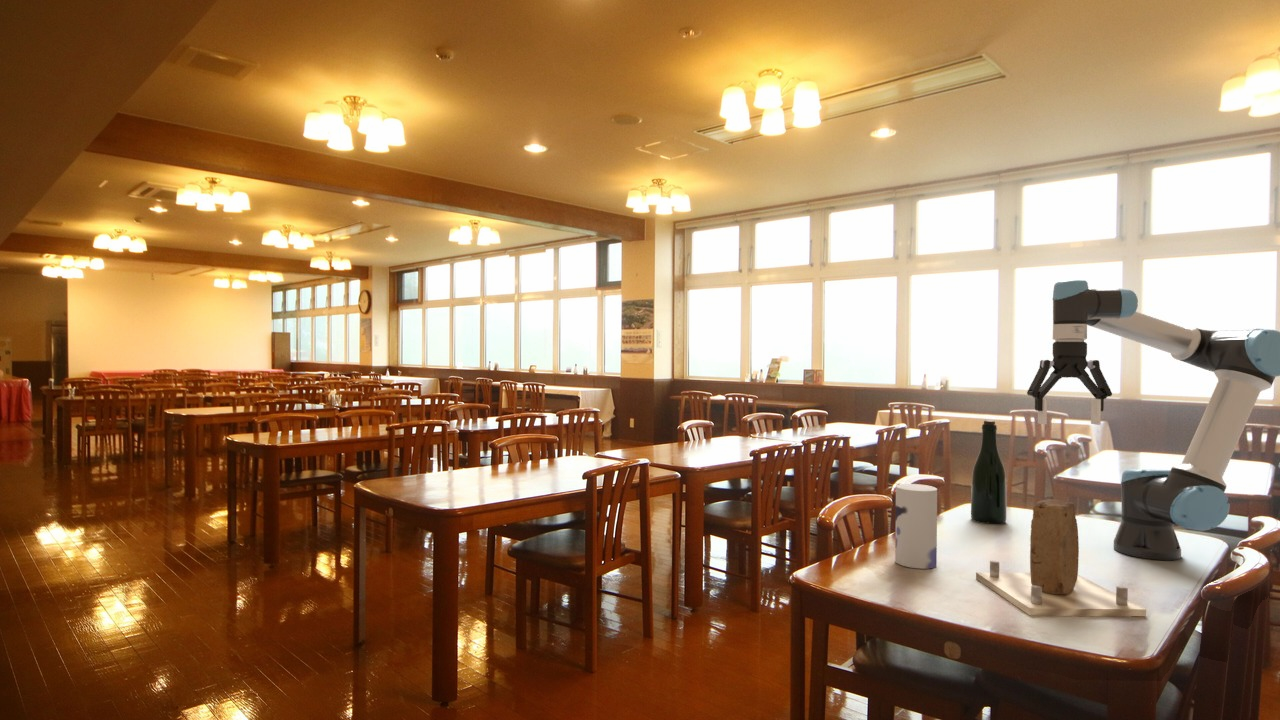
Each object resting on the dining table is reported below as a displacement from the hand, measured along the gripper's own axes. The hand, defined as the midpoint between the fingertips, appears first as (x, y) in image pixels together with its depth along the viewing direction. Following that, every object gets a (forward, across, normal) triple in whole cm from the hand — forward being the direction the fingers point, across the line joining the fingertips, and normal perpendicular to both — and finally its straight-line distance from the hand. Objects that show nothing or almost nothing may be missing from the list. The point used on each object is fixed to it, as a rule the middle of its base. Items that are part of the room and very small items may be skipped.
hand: (1068, 424), depth 179 cm
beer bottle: (+37, +4, +50) cm, 62 cm away
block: (+35, -16, -22) cm, 45 cm away
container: (+37, -38, +2) cm, 53 cm away
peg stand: (+37, -16, -22) cm, 46 cm away
